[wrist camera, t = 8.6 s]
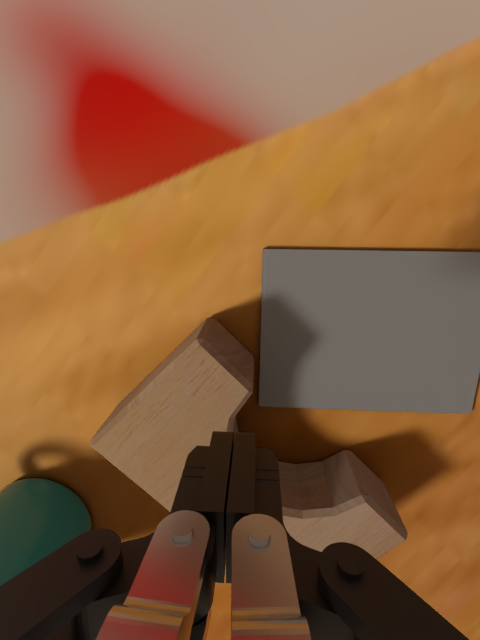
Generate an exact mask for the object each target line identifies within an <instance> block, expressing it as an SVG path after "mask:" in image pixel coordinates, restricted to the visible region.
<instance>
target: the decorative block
mask: <svg viewBox="0 0 480 640" xmlns="http://www.w3.org/2000/svg"><path fill="white" fill-rule="evenodd" d="M253 381H254V356H253V355H252V354H251V353H250V352H249V351H248V350H247V349H246V348H245V347H244V346H243V345H242V344H241V343H240V342H239V341H238V340H237V339H236V338H235V337H233V336H232V335H231V334H230V333H229V332H228V331H227V330H226V329H225V328H224V327H223V326H222V325H221V324H220V323H219V322H218V321H217V320H216V319H215V318H207V319H206V320H205V321H204V322H203V323H202V324H201V325H200V326H199V327H198V328H196V329H195V330H194V331H193V332H192V333H191V334H190V335H189V336H188V337H187V338H186V339H185V340H184V341H183V342H182V343H181V344H180V345H179V346H178V347H177V348H176V349H175V350H174V351H173V352H172V353H171V354H170V355H169V356H168V357H167V358H166V359H165V360H164V361H163V362H162V363H160V364H159V365H158V366H157V367H156V368H155V369H154V370H153V371H152V372H151V373H150V374H149V375H148V376H147V377H146V378H145V379H144V380H143V381H142V382H141V383H140V384H139V385H138V386H137V387H136V388H135V389H134V390H133V391H132V392H131V393H130V394H129V395H127V396H126V397H125V398H124V399H123V400H122V401H121V402H120V403H119V404H118V405H117V407H116V408H115V409H114V411H113V412H112V413H111V415H110V416H109V417H108V418H107V420H106V421H105V422H104V424H103V425H102V426H101V427H100V429H99V430H98V431H97V433H96V434H95V435H94V437H93V438H92V439H91V447H92V448H94V449H95V450H96V451H97V452H98V453H100V454H101V455H102V456H103V457H104V458H106V459H107V460H108V461H109V462H110V463H112V464H113V465H114V466H115V467H117V468H118V469H119V470H120V471H121V472H123V473H124V474H125V475H126V476H127V477H129V478H130V479H131V480H132V481H133V482H135V483H136V484H137V485H138V486H139V487H141V488H142V489H143V490H144V491H146V492H147V493H148V494H149V495H150V496H151V497H153V498H154V499H155V500H156V501H157V502H159V503H160V504H161V505H162V506H163V507H165V508H166V509H167V510H168V511H169V512H171V508H172V505H173V502H174V499H175V495H176V492H177V489H178V485H179V482H180V479H181V476H182V472H183V469H184V466H185V463H186V459H187V456H188V454H189V453H190V452H191V451H192V450H193V449H194V448H195V447H196V446H210V442H211V437H212V433H213V431H222V432H234V439H235V432H239V431H238V426H237V420H236V415H237V413H238V412H239V411H240V409H241V408H242V407H243V405H244V404H245V403H246V401H247V400H248V398H249V397H250V396H251V394H252V393H253ZM278 465H279V477H280V490H281V502H282V514H283V523H284V526H285V528H286V530H287V532H288V533H289V534H290V536H292V537H293V538H294V539H295V540H296V541H297V542H299V543H300V544H302V545H304V546H306V547H309V548H312V549H315V550H317V551H320V552H322V551H323V549H324V548H326V547H327V546H328V545H330V544H333V543H337V542H346V543H351V544H354V545H357V546H359V547H361V548H362V549H364V550H365V551H367V552H368V553H369V554H370V555H372V556H373V557H374V558H375V559H377V558H379V557H380V556H382V555H383V554H385V553H386V552H388V551H389V550H391V549H392V548H394V547H396V546H397V545H399V544H400V543H402V542H403V541H405V540H406V539H407V531H406V528H405V526H404V524H403V522H402V520H401V518H400V516H399V514H398V512H397V510H396V508H395V505H394V503H393V501H392V499H391V497H390V495H389V493H388V491H387V489H386V487H385V485H384V483H383V482H382V481H381V480H380V479H379V478H378V477H377V476H376V475H375V474H374V473H373V472H372V471H371V470H370V469H369V468H368V467H367V466H366V465H365V464H364V463H363V462H362V461H361V460H360V459H359V458H358V457H357V456H356V455H355V454H354V453H353V452H352V451H350V450H343V451H341V452H339V453H337V454H335V455H333V456H331V457H329V458H327V459H325V460H323V461H321V462H311V463H301V464H291V463H286V462H280V461H278Z"/></svg>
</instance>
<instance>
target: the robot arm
mask: <svg viewBox="0 0 480 640" xmlns="http://www.w3.org/2000/svg"><path fill="white" fill-rule="evenodd" d="M225 565H226V583H231V640H469V639H468V638H467V637H465V636H464V635H463V634H462V633H461V632H460V631H458V630H457V629H456V628H455V627H454V626H453V625H451V624H450V623H449V622H448V621H447V620H446V619H445V618H443V617H442V616H441V615H440V614H439V613H438V612H436V611H435V610H434V609H433V608H432V607H431V606H429V605H428V604H427V603H426V602H425V601H424V600H423V599H421V598H420V597H419V596H418V595H417V594H416V593H414V592H413V591H412V590H411V589H410V588H409V587H407V586H406V585H405V584H404V583H403V582H402V581H400V580H399V579H398V578H397V577H396V576H395V575H394V574H392V573H391V572H390V571H389V570H388V569H387V568H385V567H384V566H383V565H382V564H381V563H380V562H378V561H377V560H376V559H375V558H374V557H373V556H372V555H370V554H369V553H368V552H367V551H365V550H364V549H362V548H361V547H359V546H357V545H354V544H351V543H346V542H337V543H333V544H330V545H328V546H327V547H326V548H324V549H323V551H322V552H320V551H317V550H315V549H312V548H309V547H306V546H304V545H302V544H300V543H299V542H297V541H296V540H295V539H294V538H293V537H292V536H290V534H289V533H288V532H287V530H286V528H285V526H284V523H283V514H282V502H281V490H280V477H279V465H278V458H277V457H276V455H275V454H274V452H273V451H272V449H270V448H256V433H250V432H235V439H234V432H222V431H213V433H212V437H211V442H210V446H196V447H195V448H194V449H193V450H192V451H191V452H190V453H189V454H188V456H187V459H186V463H185V466H184V469H183V472H182V476H181V479H180V482H179V485H178V489H177V492H176V495H175V499H174V502H173V505H172V508H171V512H170V515H168V516H166V517H165V518H164V519H163V520H162V521H161V522H160V523H159V524H158V526H157V528H156V530H155V532H154V533H152V534H150V535H148V536H146V537H143V538H139V539H135V540H131V541H127V542H123V543H121V540H120V538H119V536H118V535H117V534H116V533H115V532H114V531H112V530H109V529H93V530H89V531H86V532H84V533H82V534H80V535H78V536H77V537H75V538H74V539H72V540H71V541H69V542H67V543H66V544H64V545H63V546H61V547H60V548H58V549H57V550H55V551H54V552H52V553H50V554H49V555H47V556H46V557H44V558H43V559H41V560H40V561H38V562H37V563H35V564H33V565H32V566H30V567H29V568H27V569H26V570H24V571H23V572H21V573H20V574H18V575H16V576H15V577H13V578H12V579H10V580H9V581H7V582H6V583H4V584H3V585H1V586H0V640H206V637H207V632H208V627H209V622H210V617H211V605H212V602H213V596H214V588H215V582H218V583H224V575H225Z"/></svg>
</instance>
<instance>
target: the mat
mask: <svg viewBox="0 0 480 640" xmlns="http://www.w3.org/2000/svg"><path fill="white" fill-rule="evenodd" d="M479 374H480V252H461V251H391V250H322V249H263V268H262V304H261V340H260V376H259V407H287V408H316V409H344V410H372V411H401V412H429V413H458V414H471V412H472V407H473V402H474V398H475V393H476V388H477V383H478V378H479Z"/></svg>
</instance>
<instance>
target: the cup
mask: <svg viewBox="0 0 480 640" xmlns="http://www.w3.org/2000/svg"><path fill="white" fill-rule="evenodd" d="M89 530H92V525H91V518H90V515H89V512H88V510H87V508H86V506H85V504H84V503H83V501H82V500H81V499H80V498H79V497H78V496H77V495H76V494H75V493H74V492H73V491H71V490H70V489H69V488H67V487H65V486H64V485H62V484H59V483H57V482H54V481H51V480H47V479H41V478H27V479H22V480H18V481H15V482H13V483H11V484H9V485H7V486H5V487H4V488H3V489H2V490H1V491H0V586H1V585H3V584H4V583H6V582H7V581H9V580H10V579H12V578H13V577H15V576H16V575H18V574H20V573H21V572H23V571H24V570H26V569H27V568H29V567H30V566H32V565H33V564H35V563H37V562H38V561H40V560H41V559H43V558H44V557H46V556H47V555H49V554H50V553H52V552H54V551H55V550H57V549H58V548H60V547H61V546H63V545H64V544H66V543H67V542H69V541H71V540H72V539H74V538H75V537H77V536H78V535H80V534H82V533H84V532H86V531H89Z"/></svg>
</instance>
